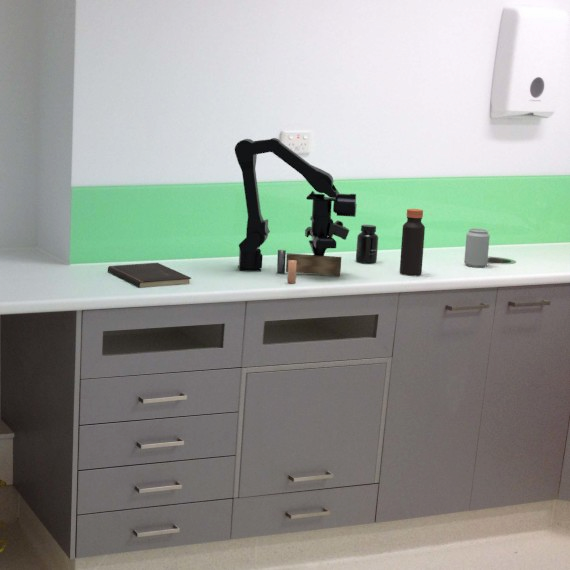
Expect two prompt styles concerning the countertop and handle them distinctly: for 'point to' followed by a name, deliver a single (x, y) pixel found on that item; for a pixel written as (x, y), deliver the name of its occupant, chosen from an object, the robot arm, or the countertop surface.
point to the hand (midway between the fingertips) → (319, 265)
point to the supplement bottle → (367, 245)
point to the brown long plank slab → (315, 264)
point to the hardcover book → (149, 275)
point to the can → (477, 248)
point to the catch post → (292, 271)
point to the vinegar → (412, 244)
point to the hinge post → (281, 262)
